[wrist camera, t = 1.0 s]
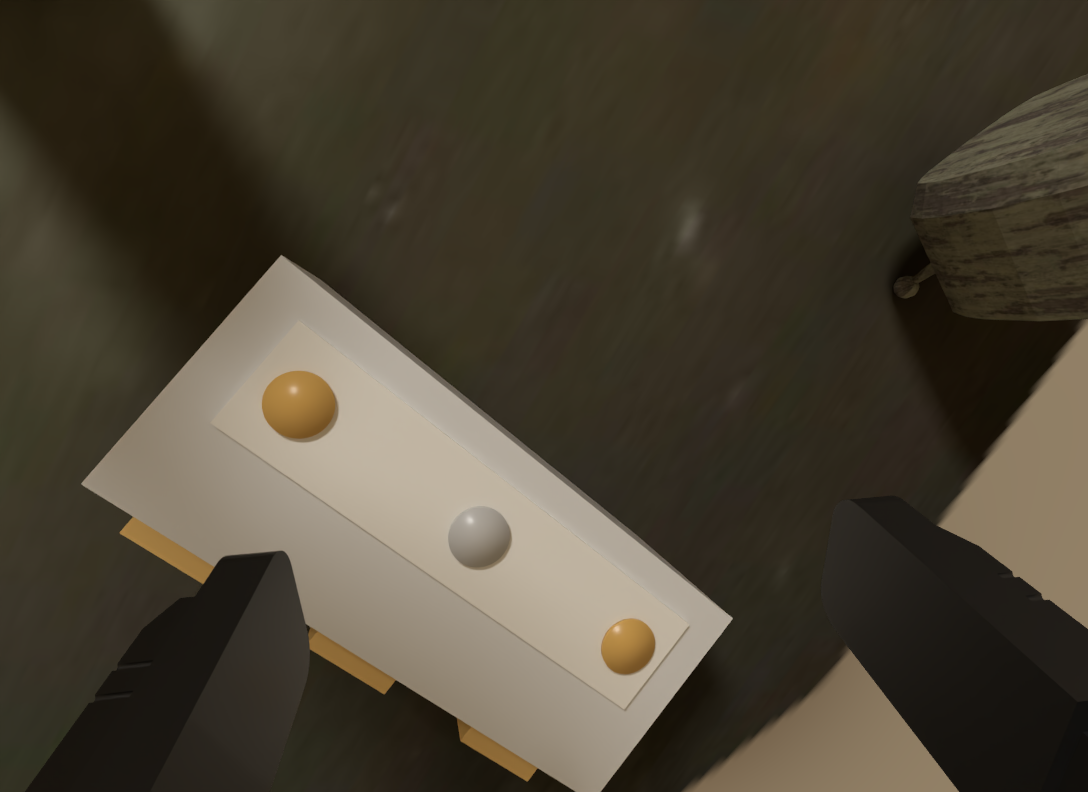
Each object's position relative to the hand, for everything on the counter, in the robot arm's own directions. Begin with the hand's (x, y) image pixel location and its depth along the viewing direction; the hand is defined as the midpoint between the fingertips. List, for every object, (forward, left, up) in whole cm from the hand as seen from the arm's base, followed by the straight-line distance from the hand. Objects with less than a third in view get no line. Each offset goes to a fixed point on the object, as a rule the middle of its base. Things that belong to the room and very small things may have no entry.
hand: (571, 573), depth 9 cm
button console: (+4, -5, -28) cm, 29 cm away
